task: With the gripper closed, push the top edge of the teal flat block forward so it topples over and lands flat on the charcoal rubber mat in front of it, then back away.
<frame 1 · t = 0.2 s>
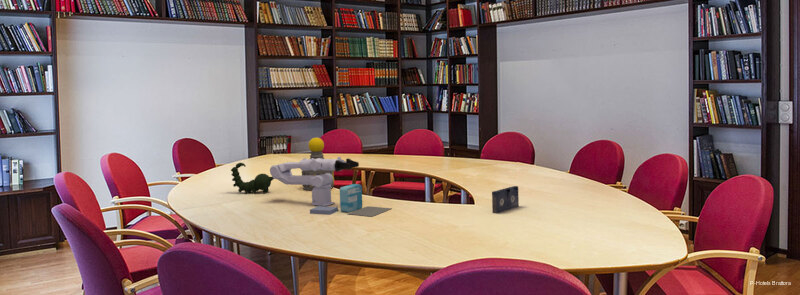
hand: (354, 165, 309), 21 cm above the table, tool horizontal, fingers open, 7 cm apart
teal flat block: (351, 210, 305), on the table
book: (324, 213, 303), on the table
vhs cassette tape: (505, 210, 294), on the table
mat: (369, 211, 300), on the table
toy figurine: (254, 193, 361), on the table
decorative lamp: (318, 188, 368), on the table
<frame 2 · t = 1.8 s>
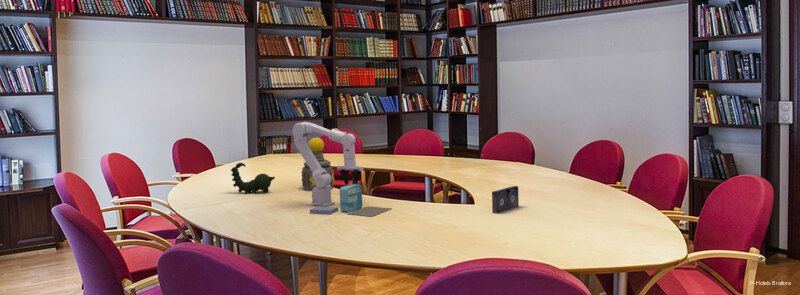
hand: (351, 184, 316), 10 cm above the table, tool pointing down, fingers open, 5 cm apart
nothing on the table moved.
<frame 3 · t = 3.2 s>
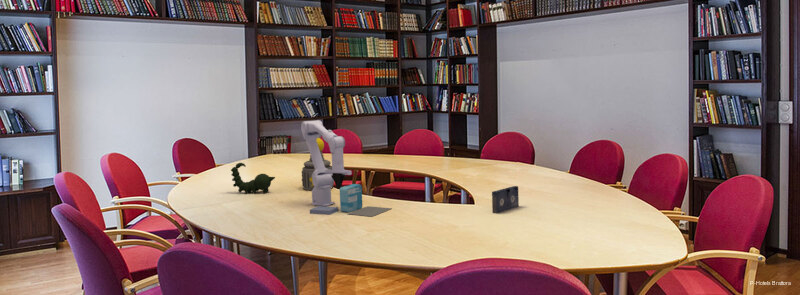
hand: (339, 188, 308), 10 cm above the table, tool pointing down, fingers closed
nothing on the table moved.
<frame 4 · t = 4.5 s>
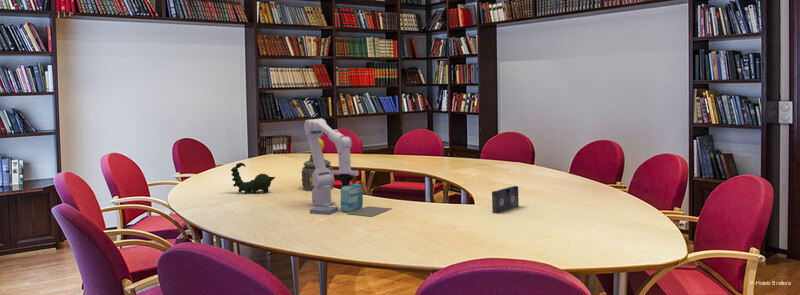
hand: (346, 189, 305), 10 cm above the table, tool pointing down, fingers closed
nothing on the table moved.
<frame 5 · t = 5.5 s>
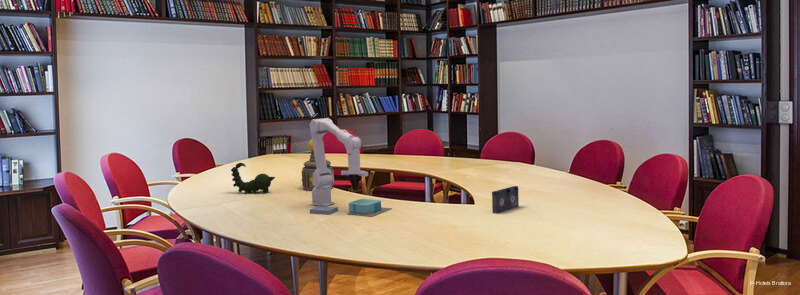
hand: (355, 190, 303), 10 cm above the table, tool pointing down, fingers closed
teal flat block: (354, 205, 304), point 3 cm above the table, touching mat
everything else where it was.
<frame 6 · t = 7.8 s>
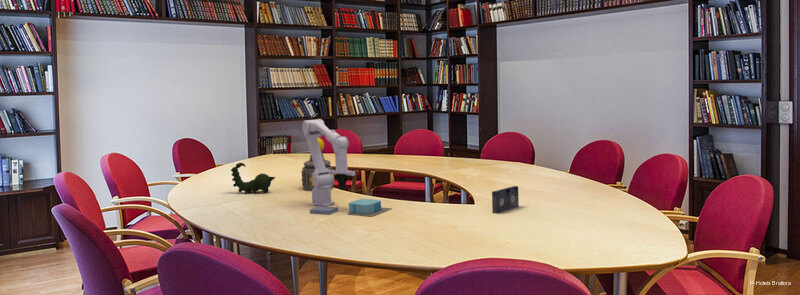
hand: (342, 189, 307), 10 cm above the table, tool pointing down, fingers closed
nothing on the table moved.
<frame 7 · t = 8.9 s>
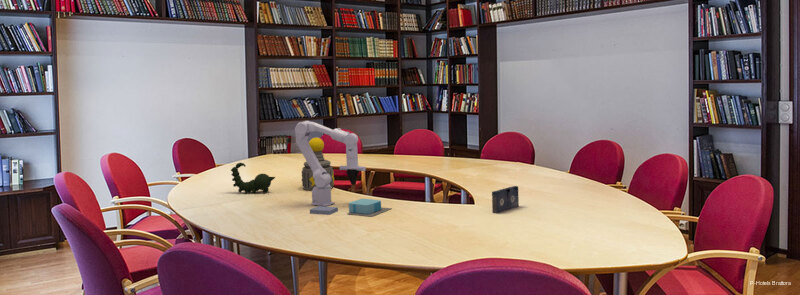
hand: (353, 184, 316), 10 cm above the table, tool pointing down, fingers closed
nothing on the table moved.
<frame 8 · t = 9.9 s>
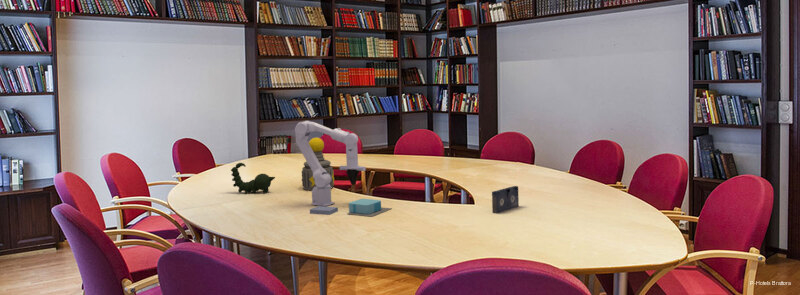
hand: (353, 184, 316), 10 cm above the table, tool pointing down, fingers closed
nothing on the table moved.
at the end: teal flat block tilted 90°; teal flat block inside the target area (7.5 cm from its centre), point 2.6 cm above the table; book moved 0.5 cm from its start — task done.
